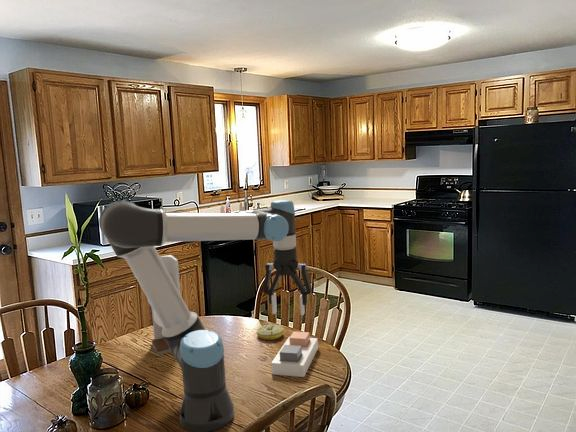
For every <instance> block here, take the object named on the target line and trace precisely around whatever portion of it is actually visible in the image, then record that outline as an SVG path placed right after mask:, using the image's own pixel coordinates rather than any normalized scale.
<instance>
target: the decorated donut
mask: <svg viewBox="0 0 576 432" xmlns="http://www.w3.org/2000/svg"><path fill="white" fill-rule="evenodd" d="M284 331H285V330H284V327H283V326H282V325H279V324H273V323H270V324H265V325H262V326H260V327H258V328H257V330H256V333H255V334H256V335H257V337H258V338H260V339H262V340H264V341H274V340H275V341H276V340H277V339H281V337H282V336H283V335H284Z"/></svg>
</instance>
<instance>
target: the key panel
mask: <svg viewBox="0 0 576 432" xmlns="http://www.w3.org/2000/svg"><path fill="white" fill-rule="evenodd" d="M289 338H290V336H288V338H287V339H286V340H285V342H284V343H283V345H282V346H281V348H280V349H279V351H278V352H277V354H276V355H275V356H274V358H273V360H272V361H271V363H270V365H271V367H270V368H271V375H274V376H275V375H277V376H285V377H286V376H288V377H289V376H290V377H298V378H299V377H301V378H304V377H305V376H306V373H308V369H309V368H310V367H311V366H310V365H311V364H312V362H313V359H314V358H315V356H316V353H317V351H318V349H319V339H318V338H317V337H310V341H309V343H308V344H307V346H306V347H302V355H301V357H300V359H299V360H298V362H290V361H280V351H281V350H282V348H283V347H284V345H290V341H289Z"/></svg>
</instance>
